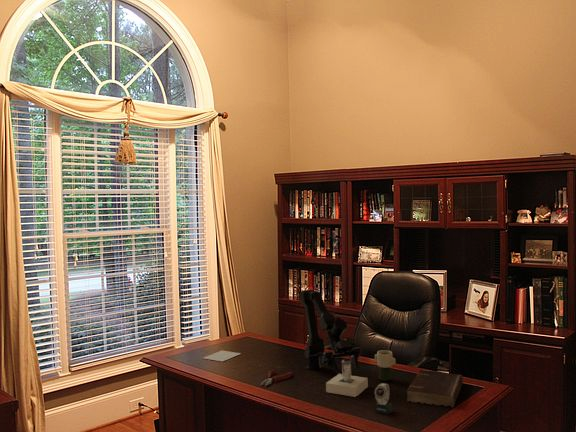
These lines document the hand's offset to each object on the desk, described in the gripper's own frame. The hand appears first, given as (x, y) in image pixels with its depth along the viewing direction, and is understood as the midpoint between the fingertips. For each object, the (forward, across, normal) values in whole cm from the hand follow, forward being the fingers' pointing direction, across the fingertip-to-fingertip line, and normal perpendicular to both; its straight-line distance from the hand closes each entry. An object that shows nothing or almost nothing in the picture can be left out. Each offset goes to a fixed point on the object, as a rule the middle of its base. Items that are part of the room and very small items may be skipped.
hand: (348, 372), depth 237 cm
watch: (+25, +1, -13) cm, 28 cm away
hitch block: (+5, 0, +7) cm, 8 cm away
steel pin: (+5, 0, +7) cm, 8 cm away
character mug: (+3, +22, +9) cm, 24 cm away
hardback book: (+20, +32, -7) cm, 39 cm away
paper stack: (-44, -37, +57) cm, 81 cm away
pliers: (-15, -25, +27) cm, 40 cm away
